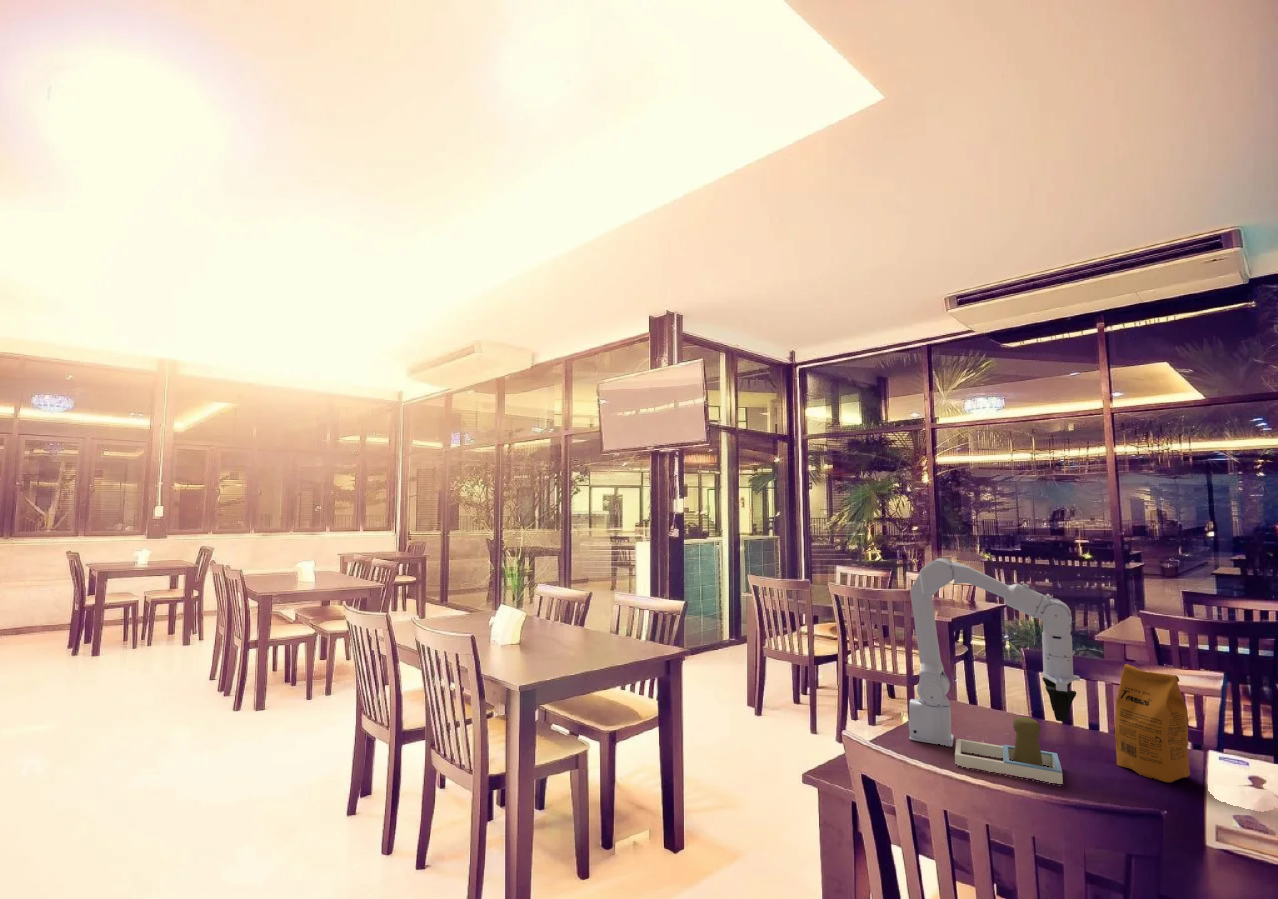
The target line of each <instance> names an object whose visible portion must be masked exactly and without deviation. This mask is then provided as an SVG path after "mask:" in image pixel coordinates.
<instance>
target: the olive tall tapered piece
mask: <svg viewBox="0 0 1278 899" xmlns="http://www.w3.org/2000/svg"><path fill="white" fill-rule="evenodd" d="M1012 727H1013V730H1014V731H1015V740H1014V746H1015V748H1014V757H1013V761H1015V762H1021V763H1027V764H1033V765H1038V766H1043V762H1042V756H1041V751H1042V750H1041V747H1040V746H1041V745H1040V739H1039V735H1040V734H1041V729H1042V727H1041V724H1040V723H1039V722H1038V721H1037V720H1036V719H1033V718H1030V717H1027V716H1026V717H1025V716H1018V717H1015V718H1014V719H1013V721H1012Z"/></svg>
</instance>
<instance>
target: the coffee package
mask: <svg viewBox="0 0 1278 899" xmlns="http://www.w3.org/2000/svg"><path fill="white" fill-rule="evenodd" d="M1122 668H1123V669H1122V673H1121V676H1120V682H1119V688H1118V690H1117V691H1118V693H1117V698H1116V700H1115V720H1114V721H1115V724H1114V740H1115V752H1116V765H1117V766H1118V767H1122V768H1126V769H1131V770H1132V771H1133V772H1135V773H1136V774H1138V775H1140V776H1142V775H1143V777H1146V778H1148V779H1152V778H1154V779H1153V780H1156V779H1157V780H1156V781H1161V782H1164V783H1173V782H1175V781H1178V780H1180V779H1184V778H1188V777H1189V776H1191V772H1190V771H1191V770H1190V758H1189V752H1188V750H1189V749H1188V746H1189V730H1188V729H1189V727H1188V726H1189V725H1188V717H1189V716H1188V707H1187V706H1186V703H1185V700H1184V697H1183V694H1182V692H1181V689H1180V687H1179V683H1178V682H1180V678H1179V677H1178V675H1177V674H1170V673H1169V674H1168V673H1160V672H1152V671H1145V670H1143V669H1140V668H1138V667H1135V666H1133V665H1130V664H1129V663H1126V664H1124V666H1123V667H1122Z"/></svg>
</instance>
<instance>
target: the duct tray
mask: <svg viewBox="0 0 1278 899" xmlns="http://www.w3.org/2000/svg"><path fill="white" fill-rule="evenodd" d="M955 742H956V743H955V750H954V751H955V752H954V765H955V764H957V765H961V766H962V767H961V768H963V767H966V768H965V769H969V768H977V769H981V770H986V771H989V772H988V773H990V772H996V773H1006V774H1010V775H1015V776H1019V777H1026V778H1034V779H1036V780H1040V781H1045V782H1049V783H1048V784H1050V783H1057V784H1063V785H1064V783H1063V782H1064V781H1063V769H1062V766H1061V762H1060V759H1059V756H1058V753H1057V752H1052V751H1051V752H1050V751H1045V750H1040V751H1041V756H1042V762H1043V765H1046V766H1038V765H1033V764H1027V763H1021V762H1015V761H1012V760H1009V758H1010V759H1013V757H1014V748H1015V745H1008V744H1004V743H1002V745H997V744H993V743H986V742H980V741H974V740H967V739H962V738H956V741H955ZM963 753H967V754H963ZM972 753H974V754H973V755H969V754H972ZM978 754H979V755H978ZM975 755H978V756H975ZM980 756H984V757H980ZM989 756H990V757H991V758H986V757H989ZM995 757H996V758H997V759H992V758H995ZM1001 758H1003V759H1002V760H998V759H1001ZM1047 766H1049V767H1047ZM996 773H995V774H996ZM1045 782H1044V783H1045Z"/></svg>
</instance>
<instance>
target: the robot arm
mask: <svg viewBox="0 0 1278 899" xmlns="http://www.w3.org/2000/svg"><path fill="white" fill-rule="evenodd" d="M952 581H953V584H954V585H956V584H957V585H959V584H970V585H973V586H974V587H976V588H980V589H982V590H984V591H986V592H990V593H991V594H994V595H996V596H998V597H1001V598H1002V599H1003V600H1004V603H1005V604H1006V606H1008V607H1010V608H1013V610H1017V611H1018V612H1021V613H1024V614H1025V615H1028V616H1030V617H1031V618H1034V619H1041V621H1042V626H1043V627H1042V628H1043V630H1042V632H1041V642H1042V668H1043V669H1042V670H1043V671H1042V672H1041V673H1042V677H1041V679H1042V681H1043V683H1044V684H1045V686H1044V687H1045V690H1046V692H1047V693H1048V694H1047V695H1048V696H1049V702H1050V706H1051V708H1052V711H1053V714H1054V715H1053V716H1054V719H1055V720H1056V721H1057V722H1063V723H1068V721H1069V717H1070V711H1071V706H1072V704H1073V701H1074V699H1075V698H1076V696H1077V692H1076V691H1077V690H1076V691H1075V690H1069V689H1070V686H1071V685H1072V682H1074V681H1078V682H1079V681H1080V680H1081V677H1080V676H1079V675H1076V674H1074V661H1073V660H1074V659H1073V657H1074V656H1073V636H1072V634H1071V632H1072V627H1071V623H1072V620H1073V617H1072V613H1071V612H1072V611H1071V610H1070V607H1069V606H1068V605H1067V604H1066V603H1065V602H1063V601H1062V600H1060V599H1059V598H1053V597H1052V595H1051V594H1046V595H1045V594H1043V593H1040V592H1038V591H1036V590H1034V589H1031V588H1030V585H1029V584H1026V583H1022V584H1020V583H1014V584H1011V585H1008V584H1006V583H1004V582H1002V581H1001V580H998V579H995V578H993V577H992V576H990V575H988V574H986V573H984V572H981V571H979V570H977V569H975V568H973V567H971V566H968V565H966V564H963V563H961V562H957V561H952V560H950V559H948V558H944V557H940V558H939V557H938V558H935V559H934V560H932V561H930V562H928V563H927V564H926V565H925V566H923V567H922V568H921V569H920V571H919V573H918V575H917V577H916V579H915V580H914V582H913V584H912V586H911V588H910V599H911V608H912V613H913V621H914V629H915V636H916V644H917V650H918V657H919V672H918V674H919V681H918V684H917V687H916V688H917V690H916V692H917V694H918V697H917V699H915V698H911V699H909V706H908V709H909V710H908V712H909V714H908V719H909V720H908V730H909V740H911V741H914V742H915V741H916V742H921V743H928V744H934V745H938V744H940V746H944V745H945V746H944V747H951V748H952V747H953V746H954V745H953V744H954V739H955V738H954V737H955V735H954V734H952V717H951V716H952V715H951V714H952V712H951V700H949V699H948V697H947V694H948V693H949V691H950V690H951V682H950V680H949V677H947V675H946V673H945V668H944V665H943V662H942V658H941V651H940V645H939V637H938V630H937V623H936V617H935V610H934V604H933V596H934V595H935V594H936V593H937V592H938V591H939V590H940V589H941V588H943V587H945V586H947V585H948V584H950V583H951V582H952Z"/></svg>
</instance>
